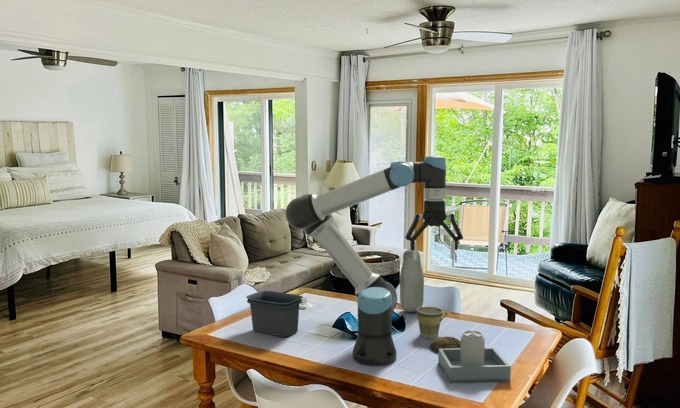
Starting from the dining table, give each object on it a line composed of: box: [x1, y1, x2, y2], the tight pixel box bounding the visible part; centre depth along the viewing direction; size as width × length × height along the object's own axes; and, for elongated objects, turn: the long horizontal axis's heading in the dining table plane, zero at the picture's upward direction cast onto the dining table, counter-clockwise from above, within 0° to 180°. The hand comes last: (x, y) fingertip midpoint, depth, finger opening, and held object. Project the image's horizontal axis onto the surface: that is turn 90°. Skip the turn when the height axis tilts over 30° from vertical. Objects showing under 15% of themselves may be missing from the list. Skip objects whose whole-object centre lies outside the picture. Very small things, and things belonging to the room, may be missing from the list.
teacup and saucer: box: [299, 296, 313, 309], centre depth 254 cm, size 9×8×4 cm
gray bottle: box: [399, 248, 425, 313], centre depth 243 cm, size 10×10×28 cm
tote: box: [437, 347, 512, 384], centre depth 179 cm, size 19×16×5 cm
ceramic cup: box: [416, 306, 448, 339], centre depth 214 cm, size 13×10×10 cm
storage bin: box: [245, 290, 304, 338], centre depth 219 cm, size 21×16×14 cm
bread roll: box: [429, 336, 461, 353], centre depth 199 cm, size 13×12×5 cm
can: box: [460, 330, 486, 366], centre depth 178 cm, size 8×8×12 cm
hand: (433, 259), depth 197 cm, fingers open, 13 cm apart
